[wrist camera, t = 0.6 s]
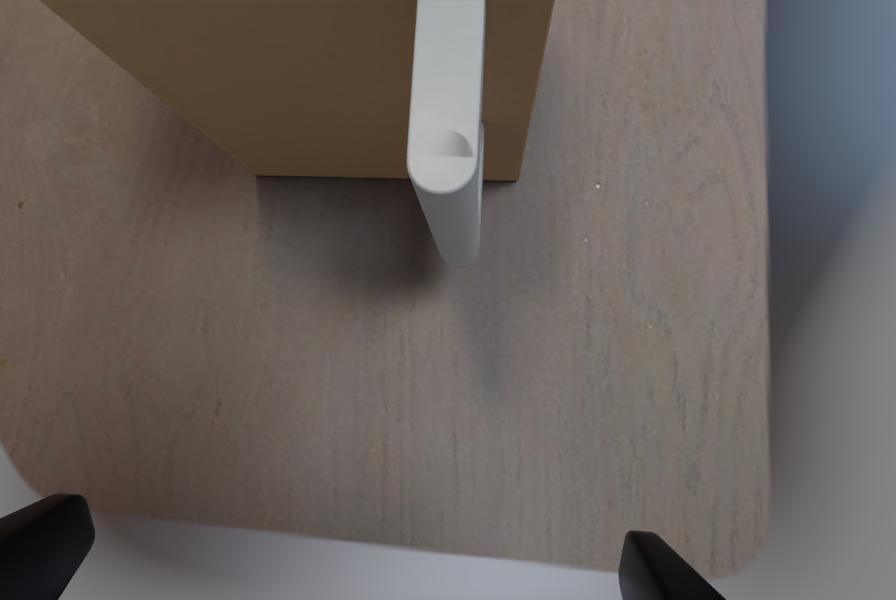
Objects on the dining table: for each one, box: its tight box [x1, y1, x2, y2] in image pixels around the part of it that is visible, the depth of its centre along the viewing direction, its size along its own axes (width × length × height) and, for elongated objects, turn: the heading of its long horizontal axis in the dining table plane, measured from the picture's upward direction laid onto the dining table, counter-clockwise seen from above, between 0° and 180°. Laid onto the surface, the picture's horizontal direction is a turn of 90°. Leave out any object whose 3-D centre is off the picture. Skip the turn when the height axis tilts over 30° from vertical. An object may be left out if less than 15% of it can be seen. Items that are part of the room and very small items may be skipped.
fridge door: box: [40, 0, 555, 268], centre depth 16 cm, size 6×14×12 cm, turn 87°
